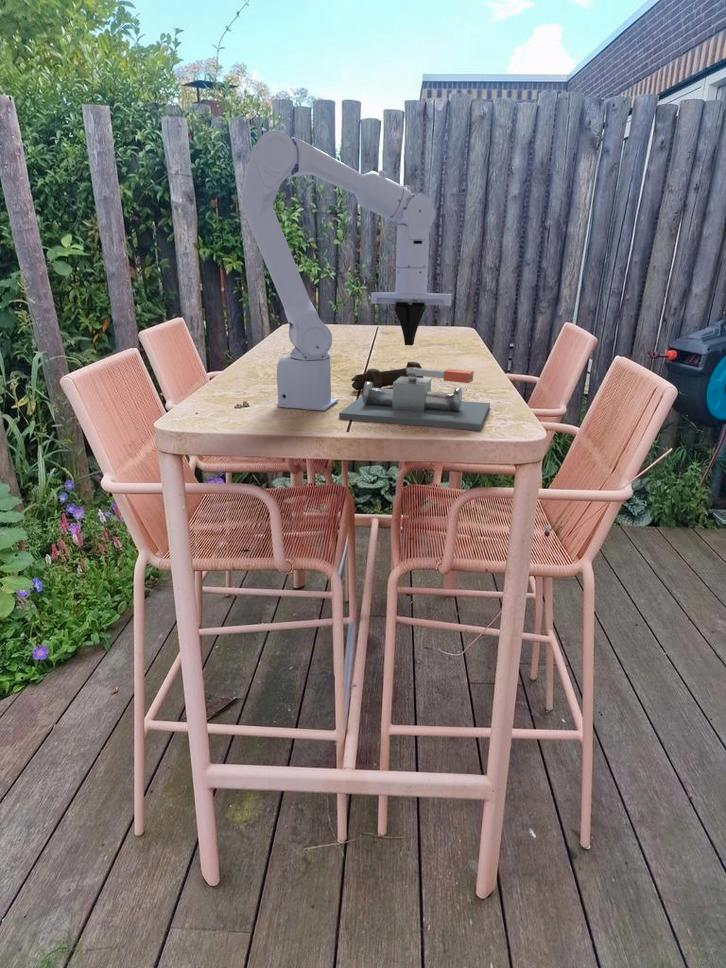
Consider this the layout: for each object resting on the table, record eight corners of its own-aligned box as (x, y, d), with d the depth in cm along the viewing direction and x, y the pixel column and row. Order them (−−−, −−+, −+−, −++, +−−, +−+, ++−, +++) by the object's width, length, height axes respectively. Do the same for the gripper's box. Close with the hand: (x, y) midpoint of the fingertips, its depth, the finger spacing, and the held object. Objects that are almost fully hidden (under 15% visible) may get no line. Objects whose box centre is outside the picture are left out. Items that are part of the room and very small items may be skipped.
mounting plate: (339, 418, 102) (339, 412, 101) (364, 398, 115) (364, 393, 115) (480, 430, 95) (480, 424, 95) (489, 408, 109) (490, 403, 108)
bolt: (352, 400, 122) (415, 391, 128) (361, 392, 118) (426, 383, 124) (346, 373, 123) (408, 365, 129) (354, 365, 118) (419, 357, 124)
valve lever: (404, 376, 103) (404, 367, 102) (409, 374, 104) (409, 365, 104) (468, 383, 98) (469, 373, 97) (472, 380, 99) (473, 371, 99)
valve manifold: (361, 407, 105) (361, 374, 103) (370, 400, 110) (370, 369, 108) (457, 415, 100) (459, 381, 98) (461, 407, 105) (463, 374, 103)
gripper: (367, 267, 104) (366, 346, 109) (449, 268, 101) (445, 349, 106) (376, 266, 111) (375, 340, 116) (454, 267, 107) (449, 343, 112)
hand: (409, 344), depth 111 cm, fingers closed
